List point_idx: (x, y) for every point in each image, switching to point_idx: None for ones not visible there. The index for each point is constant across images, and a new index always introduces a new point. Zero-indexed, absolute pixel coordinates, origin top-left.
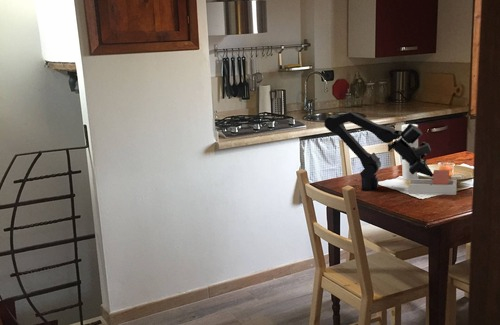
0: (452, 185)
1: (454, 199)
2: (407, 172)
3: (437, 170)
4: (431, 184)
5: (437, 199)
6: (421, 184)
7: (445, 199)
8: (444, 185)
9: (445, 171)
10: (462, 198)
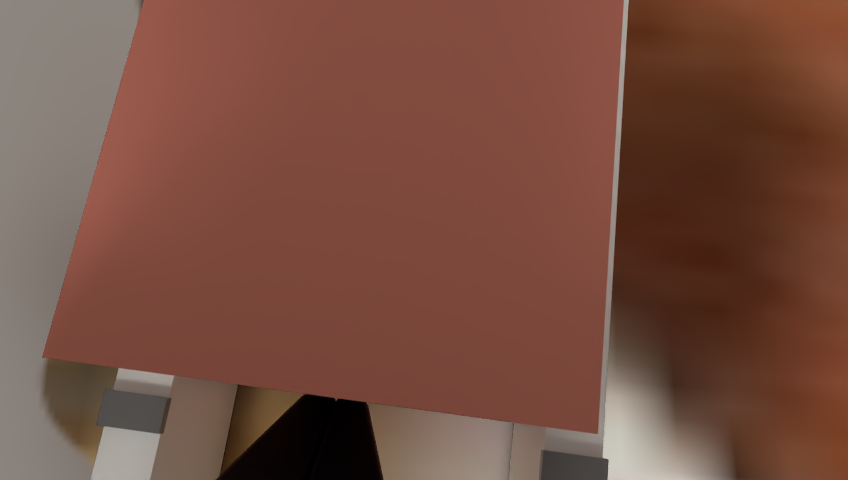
0: (624, 49)
1: (806, 130)
2: None
3: (143, 236)
4: (601, 471)
5: (841, 377)
6: None
7: (824, 254)
8: (614, 193)
9: (316, 5)
10: (746, 25)
